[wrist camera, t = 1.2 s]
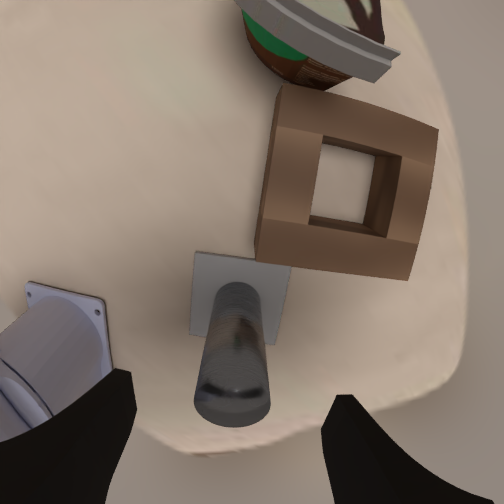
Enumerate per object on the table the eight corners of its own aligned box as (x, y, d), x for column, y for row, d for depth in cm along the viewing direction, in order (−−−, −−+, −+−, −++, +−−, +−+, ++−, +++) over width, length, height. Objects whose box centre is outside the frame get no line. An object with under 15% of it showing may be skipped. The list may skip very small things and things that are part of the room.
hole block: (384, 261, 19) (407, 280, 15) (253, 243, 18) (255, 261, 15) (408, 132, 16) (438, 129, 13) (276, 97, 15) (283, 82, 12)
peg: (256, 325, 19) (263, 429, 11) (212, 319, 19) (193, 422, 11) (263, 284, 19) (277, 382, 10) (216, 278, 18) (195, 373, 10)
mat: (274, 341, 20) (274, 344, 20) (190, 331, 20) (189, 334, 20) (290, 263, 19) (291, 265, 18) (196, 251, 18) (195, 252, 18)
